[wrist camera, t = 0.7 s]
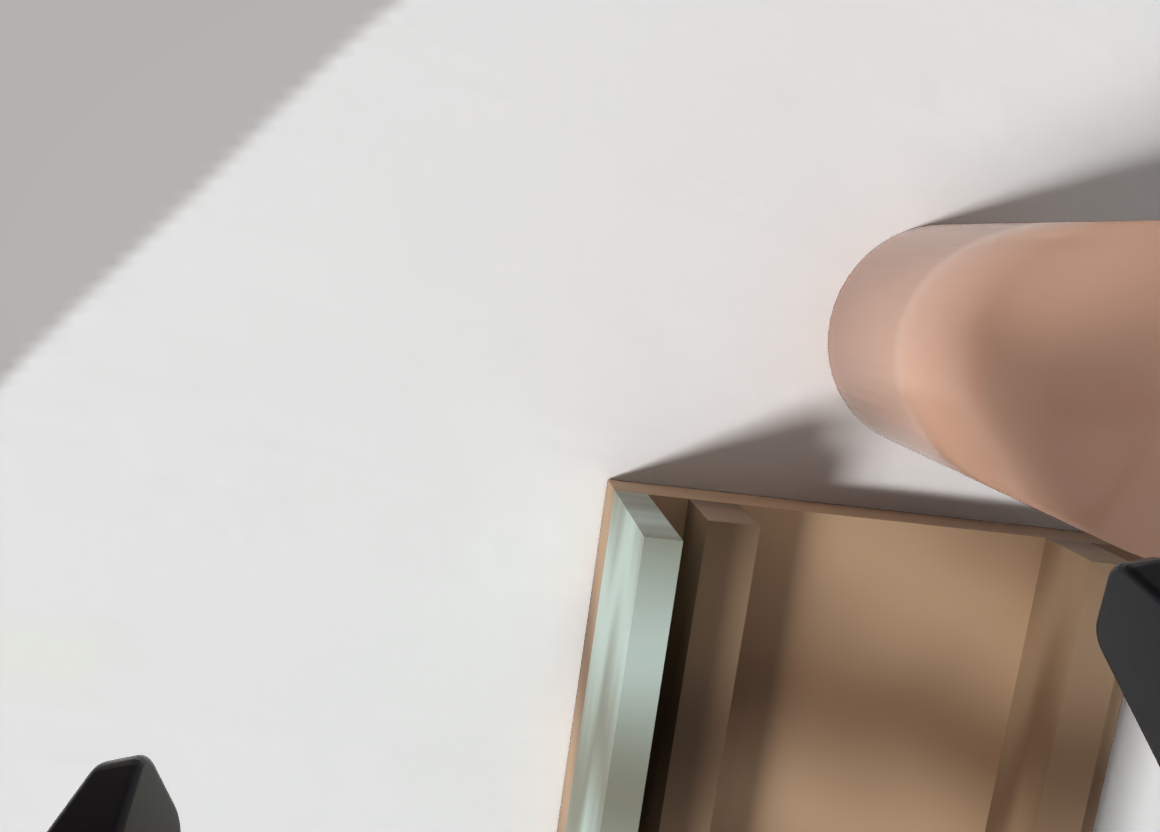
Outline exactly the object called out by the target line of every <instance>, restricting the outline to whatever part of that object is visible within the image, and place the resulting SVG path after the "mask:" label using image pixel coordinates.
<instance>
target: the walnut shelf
mask: <svg viewBox="0 0 1160 832" xmlns="http://www.w3.org/2000/svg"><path fill="white" fill-rule="evenodd" d="M1138 559H1143V557H1140V556H1138V555H1135V554H1132V553H1130V552H1127V551H1125V550H1123V549H1121V548H1119V547H1116V546H1114V545H1112V544H1110V543H1108V542H1106V541H1104V540H1102V539H1099V538H1097V537H1095V536H1093V535H1091V534H1089V533H1087V532H1078V531H1068V530H1059V529H1050V528H1041V527H1032V526H1023V525H1014V524H1005V523H996V522H987V521H978V520H969V519H960V518H951V517H942V516H933V515H924V514H915V513H906V512H897V511H888V510H879V509H870V508H861V507H852V506H843V505H834V504H825V503H816V502H807V501H798V500H789V499H780V498H771V497H762V496H752V495H743V494H734V493H725V492H716V491H707V490H698V489H689V488H680V487H671V486H662V485H653V484H644V483H635V482H626V481H617V480H608V482H607V488H606V495H605V502H604V509H603V516H602V523H601V530H600V537H599V544H598V551H597V558H596V565H595V572H594V578H593V585H592V592H591V599H590V606H589V613H588V620H587V627H586V634H585V641H584V648H583V655H582V662H581V668H580V675H579V682H578V689H577V696H576V703H575V710H574V717H573V724H572V731H571V738H570V745H569V752H568V758H567V765H566V772H565V779H564V786H563V793H562V800H561V807H560V814H559V821H558V828H557V832H1092V831H1093V827H1094V822H1095V818H1096V813H1097V809H1098V804H1099V800H1100V795H1101V791H1102V786H1103V782H1104V777H1105V773H1106V769H1107V764H1108V760H1109V755H1110V751H1111V746H1112V742H1113V737H1114V733H1115V728H1116V724H1117V719H1118V715H1119V710H1120V706H1121V701H1122V697H1123V692H1122V690H1121V688H1120V686H1119V684H1118V682H1117V680H1116V678H1115V676H1114V674H1113V672H1112V670H1111V668H1110V666H1109V665H1108V663H1107V661H1106V659H1105V657H1104V655H1103V653H1102V650H1101V648H1100V646H1099V642H1098V639H1097V634H1096V622H1097V617H1098V614H1099V610H1100V606H1101V602H1102V599H1103V595H1104V591H1105V587H1106V584H1107V580H1108V576H1109V573H1110V571H1111V570H1112V569H1113V568H1114V566H1115V565H1117V564H1119V563H1122V562H1127V561H1133V560H1138Z"/></svg>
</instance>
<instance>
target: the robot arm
mask: <svg viewBox="0 0 1160 832" xmlns="http://www.w3.org/2000/svg"><path fill="white" fill-rule="evenodd" d="M1096 634H1097V639H1098V642H1099V646H1100V648H1101V650H1102V653H1103V655H1104V657H1105V659H1106V661H1107V663H1108V665H1109V666H1110V668H1111V670H1112V672H1113V674H1114V676H1115V678H1116V680H1117V682H1118V684H1119V686H1120V688H1121V690H1122V692H1123V694H1124V696H1125V698H1126V700H1127V702H1128V704H1129V706H1130V708H1131V710H1132V712H1133V714H1134V716H1135V718H1136V720H1137V722H1138V724H1139V726H1140V728H1141V730H1142V732H1143V734H1144V736H1145V738H1146V740H1147V742H1148V744H1149V746H1150V748H1151V750H1152V752H1153V754H1154V756H1155V758H1156V760H1157V762H1158V764H1159V766H1160V558H1158V557H1148V558H1143V559H1138V560H1133V561H1127V562H1122V563H1119V564H1117V565H1115V566H1114V568H1113V569H1112V570H1111V571H1110V573H1109V576H1108V580H1107V584H1106V587H1105V591H1104V595H1103V599H1102V602H1101V606H1100V610H1099V614H1098V617H1097V622H1096ZM47 832H181V831H180V822H179V817H178V813H177V810H176V808H175V805H174V803H173V801H172V799H171V797H170V795H169V793H168V791H167V790H166V788H165V786H164V784H163V782H162V780H161V778H160V776H159V774H158V772H157V770H156V768H155V766H154V764H153V763H152V761H151V760H150V759H149V758H148V757H146V756H144V755H136V756H131V757H126V758H121V759H116V760H111V761H106V762H103V763H101V764H99V765H98V766H97V767H95V768H94V769H93V770H92V771H91V773H90V774H89V775H88V776H87V778H86V779H85V781H84V782H83V783H82V785H81V786H80V787H79V789H78V790H77V792H76V793H75V794H74V796H73V797H72V798H71V800H70V801H69V802H68V804H67V805H66V807H65V808H64V809H63V811H62V812H61V813H60V815H59V816H58V817H57V819H56V820H55V822H54V823H53V824H52V826H51V827H50V828H49V830H48V831H47Z"/></svg>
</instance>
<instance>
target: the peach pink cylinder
mask: <svg viewBox="0 0 1160 832" xmlns="http://www.w3.org/2000/svg"><path fill="white" fill-rule="evenodd" d="M828 354H829V363H830V367H831V371H832V375H833V378H834V381H835V384H836V386H837V389H838V391H839V393H840V395H841V396H842V398H843V400H844V402H845V403H846V405H847V406H848V407H849V409H850V410H851V411H852V413H853V414H854V415H855V416H856V417H857V418H858V419H859V420H860V421H861V422H862V423H863V424H865V425H866V426H867V427H868V428H870V429H871V430H872V431H874V432H876V433H877V434H879V435H881V436H883V437H884V438H886V439H889V440H891V441H893V442H895V443H897V444H899V445H901V446H903V447H906V448H908V449H910V450H912V451H914V452H916V453H918V454H921V455H923V456H925V457H927V458H929V459H931V460H933V461H935V462H938V463H940V464H942V465H944V466H946V467H948V468H950V469H952V470H955V471H957V472H959V473H961V474H963V475H965V476H967V477H969V478H972V479H974V480H976V481H978V482H980V483H982V484H984V485H987V486H989V487H991V488H993V489H995V490H997V491H999V492H1001V493H1004V494H1006V495H1008V496H1010V497H1012V498H1014V499H1016V500H1018V501H1021V502H1023V503H1025V504H1027V505H1029V506H1031V507H1033V508H1036V509H1038V510H1040V511H1042V512H1044V513H1046V514H1048V515H1050V516H1053V517H1055V518H1057V519H1059V520H1061V521H1063V522H1065V523H1067V524H1070V525H1072V526H1074V527H1076V528H1078V529H1080V530H1082V531H1084V532H1087V533H1089V534H1091V535H1093V536H1095V537H1097V538H1099V539H1102V540H1104V541H1106V542H1108V543H1110V544H1112V545H1114V546H1116V547H1119V548H1121V549H1123V550H1125V551H1127V552H1130V553H1132V554H1135V555H1138V556H1140V557H1143V558H1148V557H1158V558H1160V220H1144V221H1094V222H1045V223H995V224H946V225H928V226H922V227H917V228H914V229H910V230H907V231H904V232H902V233H900V234H897V235H895V236H893V237H891V238H889V239H888V240H886V241H884V242H883V243H881V244H880V245H878V246H877V247H876V248H874V249H873V250H872V251H871V252H869V253H868V254H867V255H866V256H865V257H864V258H863V259H862V260H861V261H860V262H859V263H858V264H857V266H856V267H855V268H854V270H853V271H852V272H851V274H850V275H849V276H848V278H847V279H846V281H845V283H844V285H843V286H842V288H841V290H840V292H839V295H838V297H837V299H836V302H835V304H834V308H833V311H832V315H831V318H830V325H829V332H828Z"/></svg>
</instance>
